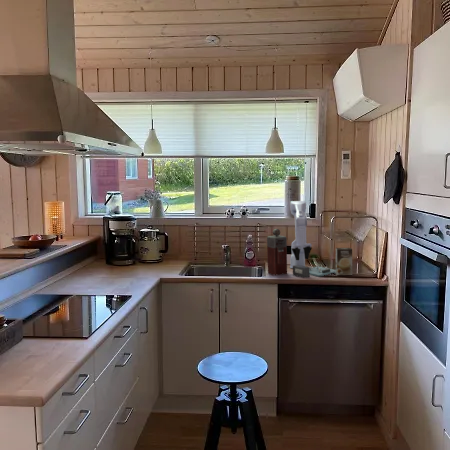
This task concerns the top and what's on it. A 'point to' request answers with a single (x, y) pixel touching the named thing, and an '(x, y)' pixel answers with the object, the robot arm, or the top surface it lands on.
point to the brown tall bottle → (277, 253)
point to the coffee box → (343, 261)
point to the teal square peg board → (320, 271)
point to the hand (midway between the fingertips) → (302, 259)
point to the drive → (301, 271)
